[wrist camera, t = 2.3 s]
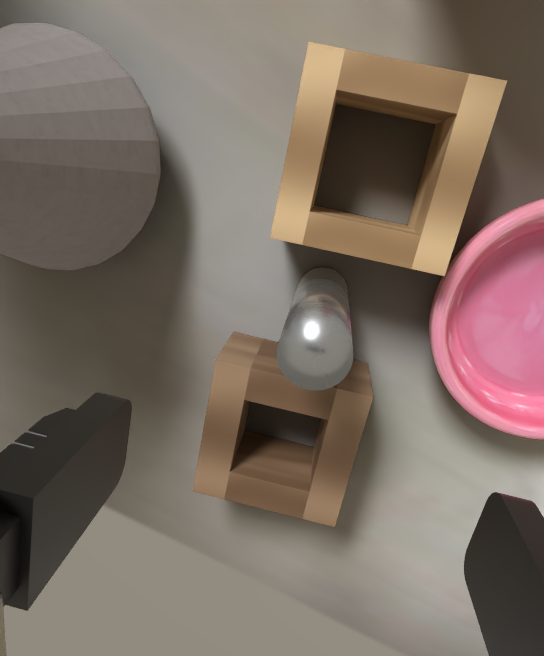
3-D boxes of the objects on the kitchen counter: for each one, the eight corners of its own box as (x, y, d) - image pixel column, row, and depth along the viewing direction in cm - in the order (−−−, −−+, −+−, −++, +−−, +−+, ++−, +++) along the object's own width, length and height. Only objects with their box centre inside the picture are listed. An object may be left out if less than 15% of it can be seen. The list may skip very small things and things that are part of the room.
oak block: (313, 65, 24) (308, 41, 20) (476, 97, 23) (507, 80, 19) (280, 227, 26) (270, 237, 22) (427, 259, 26) (444, 276, 22)
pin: (303, 262, 27) (285, 310, 17) (353, 273, 27) (362, 328, 17) (292, 310, 28) (269, 380, 18) (340, 321, 28) (343, 397, 18)
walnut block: (233, 332, 29) (215, 359, 24) (367, 363, 28) (373, 396, 24) (212, 447, 31) (192, 491, 27) (335, 478, 31) (334, 527, 26)
